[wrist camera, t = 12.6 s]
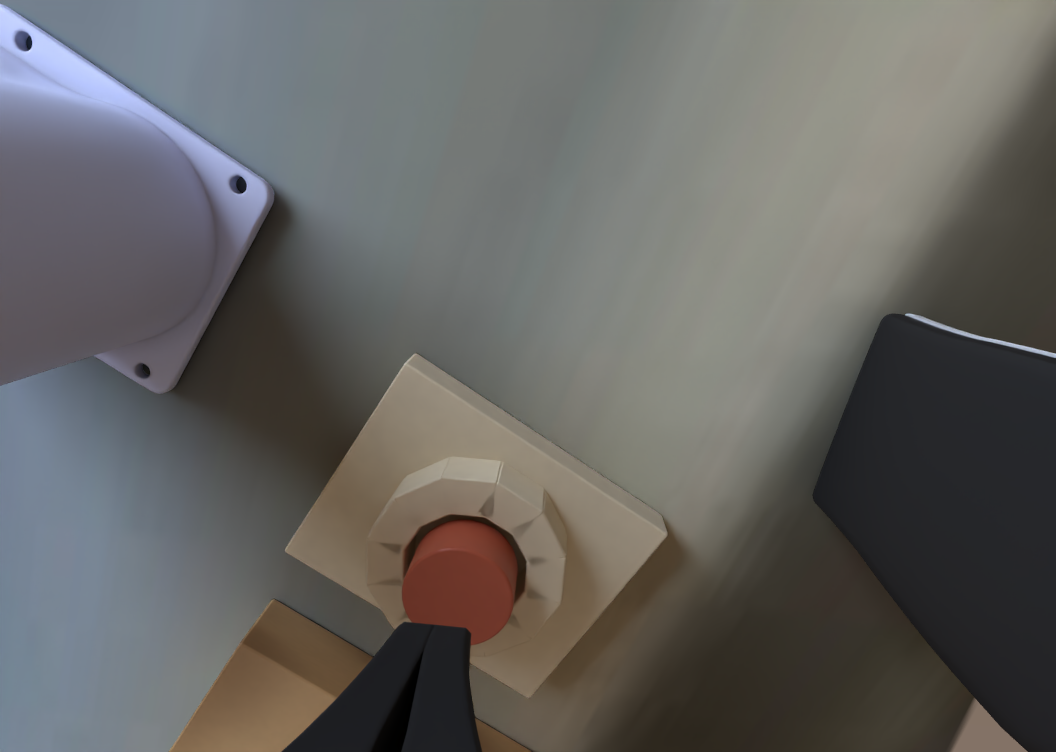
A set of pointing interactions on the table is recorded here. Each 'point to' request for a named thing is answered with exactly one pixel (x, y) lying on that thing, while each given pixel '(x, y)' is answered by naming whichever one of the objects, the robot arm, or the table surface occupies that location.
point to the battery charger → (959, 506)
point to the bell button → (462, 579)
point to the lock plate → (283, 688)
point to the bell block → (478, 517)
